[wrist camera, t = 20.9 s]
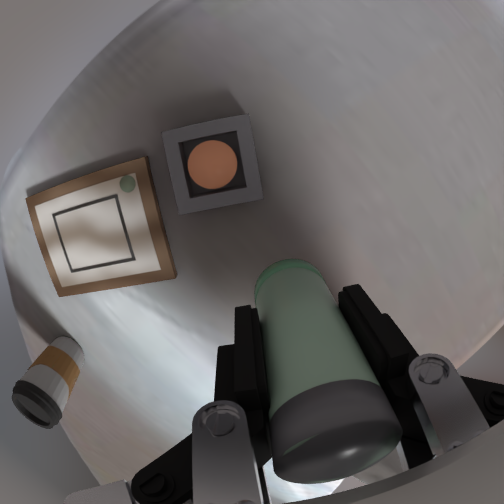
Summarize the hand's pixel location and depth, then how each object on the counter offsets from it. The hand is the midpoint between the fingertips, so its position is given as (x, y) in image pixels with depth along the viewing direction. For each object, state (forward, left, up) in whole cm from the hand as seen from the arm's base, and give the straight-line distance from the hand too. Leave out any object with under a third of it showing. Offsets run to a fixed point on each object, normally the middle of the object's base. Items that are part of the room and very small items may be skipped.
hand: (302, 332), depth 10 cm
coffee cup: (-18, +35, -25) cm, 47 cm away
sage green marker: (0, 0, -3) cm, 3 cm away
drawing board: (0, +21, -25) cm, 33 cm away
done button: (+5, +4, -24) cm, 25 cm away
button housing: (+5, +4, -25) cm, 26 cm away
